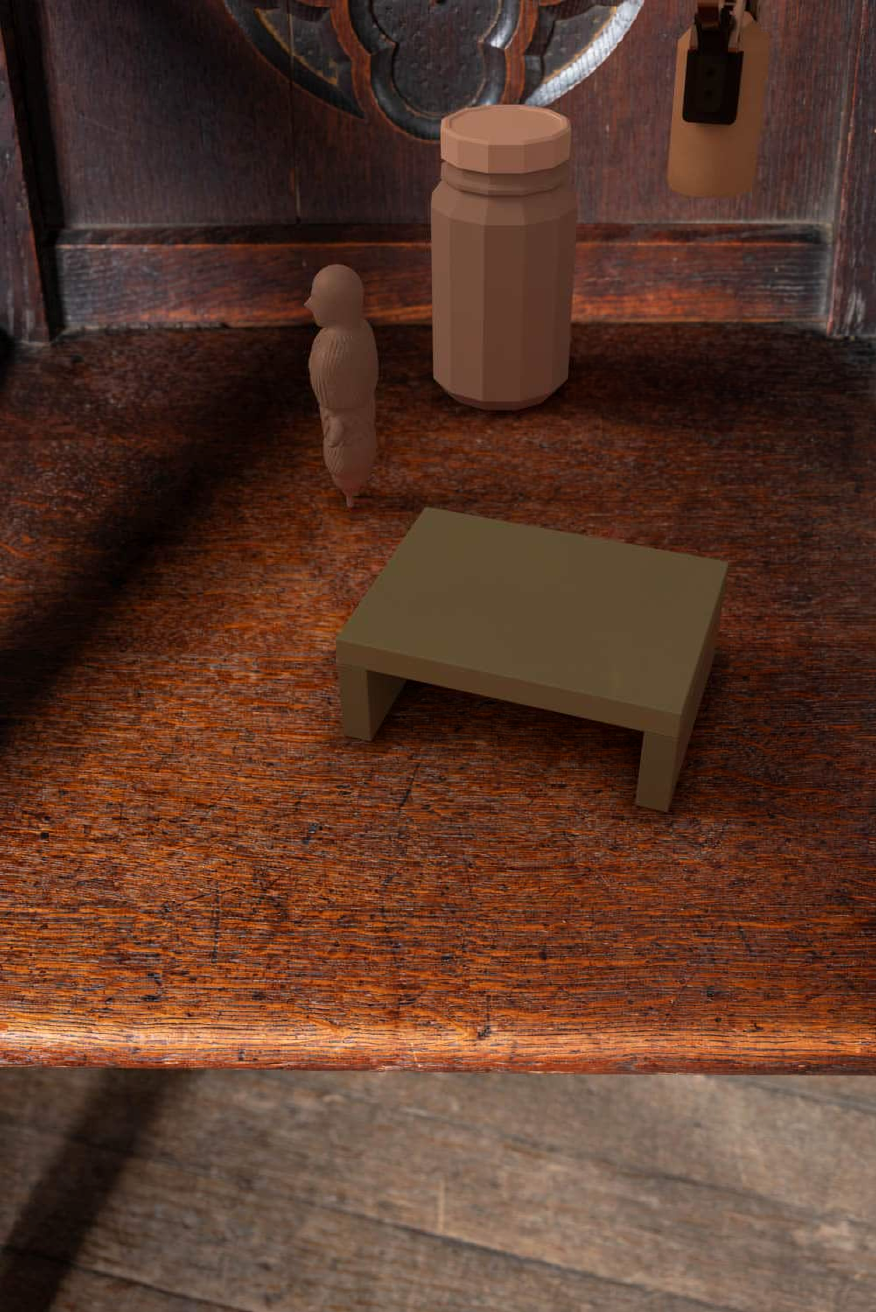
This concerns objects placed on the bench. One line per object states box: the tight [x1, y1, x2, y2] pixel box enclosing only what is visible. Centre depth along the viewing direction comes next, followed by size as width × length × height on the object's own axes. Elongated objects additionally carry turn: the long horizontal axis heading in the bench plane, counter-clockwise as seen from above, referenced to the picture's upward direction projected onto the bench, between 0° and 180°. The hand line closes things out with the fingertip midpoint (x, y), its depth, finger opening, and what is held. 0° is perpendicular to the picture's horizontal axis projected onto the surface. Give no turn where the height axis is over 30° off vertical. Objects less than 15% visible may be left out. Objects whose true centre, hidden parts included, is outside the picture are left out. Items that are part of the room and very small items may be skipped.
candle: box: [667, 11, 772, 199], centre depth 78 cm, size 6×6×10 cm
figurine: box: [303, 263, 379, 509], centre depth 73 cm, size 9×4×15 cm, turn 168°
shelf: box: [335, 506, 730, 813], centre depth 62 cm, size 16×12×6 cm
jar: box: [430, 104, 579, 411], centre depth 84 cm, size 10×10×18 cm
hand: (718, 104), depth 78 cm, fingers closed on candle, 5 cm apart
